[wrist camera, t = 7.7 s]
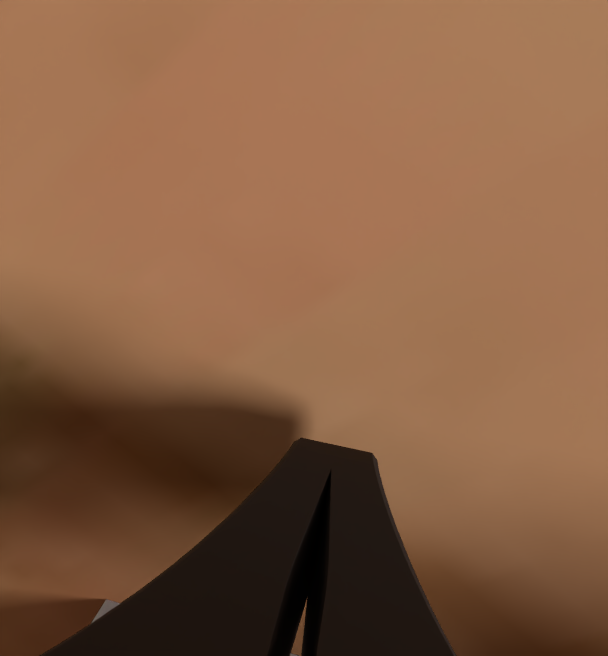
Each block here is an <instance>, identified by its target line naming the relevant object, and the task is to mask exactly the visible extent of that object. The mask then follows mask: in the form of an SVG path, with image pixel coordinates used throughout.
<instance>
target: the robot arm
mask: <svg viewBox="0 0 608 656" xmlns="http://www.w3.org/2000/svg"><path fill="white" fill-rule="evenodd" d="M307 596H308V597H307ZM306 599H307V606H306V616H305V626H304V635H303V645H302V655H301V656H456V654H455V652H454V650H453V649H452V647H451V645H450V643H449V641H448V639H447V638H446V636H445V634H444V632H443V630H442V628H441V626H440V624H439V622H438V620H437V618H436V616H435V614H434V612H433V610H432V608H431V606H430V604H429V602H428V600H427V598H426V595H425V593H424V591H423V589H422V587H421V585H420V583H419V581H418V578H417V576H416V574H415V572H414V569H413V567H412V565H411V562H410V560H409V558H408V555H407V553H406V550H405V548H404V545H403V542H402V540H401V537H400V535H399V532H398V530H397V527H396V525H395V522H394V519H393V516H392V514H391V511H390V508H389V504H388V501H387V498H386V495H385V492H384V488H383V485H382V481H381V477H380V473H379V468H378V462H377V459H376V458H375V456H374V455H373V454H372V453H370V452H365V451H360V450H356V449H351V448H346V447H342V446H337V445H332V444H328V443H323V442H318V441H314V440H309V439H304V438H300V439H298V440H297V441H295V442H294V443H293V444H292V446H291V447H290V449H289V450H288V452H287V453H286V454H285V456H284V457H283V458H282V459H281V461H280V462H279V463H278V464H277V466H276V467H275V468H274V469H273V470H272V471H271V473H270V474H269V475H268V476H267V477H266V478H265V479H264V480H263V482H262V483H261V484H260V485H259V486H258V487H257V488H256V489H255V490H254V491H253V492H252V493H251V494H250V495H249V496H248V497H247V498H246V499H245V500H244V501H243V502H242V503H241V504H240V505H239V506H238V507H237V508H236V509H235V510H234V511H233V512H232V513H231V514H230V515H229V516H228V517H227V518H226V519H225V520H224V521H223V522H221V523H220V524H219V525H218V526H217V527H216V528H215V529H214V530H213V531H212V532H210V533H209V534H208V535H207V536H206V537H205V538H204V539H203V540H202V541H200V542H199V543H198V544H197V545H196V546H195V547H194V548H192V549H191V550H190V551H189V552H188V553H186V554H185V555H184V556H183V557H182V558H180V559H179V560H178V561H177V562H175V563H174V564H173V565H172V566H170V567H169V568H168V569H167V570H165V571H164V572H163V573H161V574H160V575H159V576H157V577H156V578H155V579H153V580H152V581H151V582H150V583H148V584H147V585H146V586H144V587H143V588H142V589H140V590H139V591H137V592H136V593H135V594H133V595H132V596H130V597H129V598H127V599H126V600H125V601H123V602H122V603H120V604H119V605H117V606H116V607H114V608H113V609H111V610H110V611H109V612H107V613H106V614H104V615H103V616H101V617H100V618H98V619H97V620H95V621H94V622H93V623H91V624H90V625H88V626H87V627H85V628H83V629H82V630H80V631H79V632H77V633H76V634H74V635H73V636H71V637H69V638H68V639H66V640H65V641H63V642H61V643H60V644H58V645H57V646H55V647H53V648H52V649H50V650H48V651H47V652H45V653H43V654H41V655H40V656H290V653H291V650H292V647H293V643H294V640H295V636H296V633H297V630H298V626H299V623H300V620H301V616H302V613H303V610H304V606H305V603H306Z"/></svg>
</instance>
